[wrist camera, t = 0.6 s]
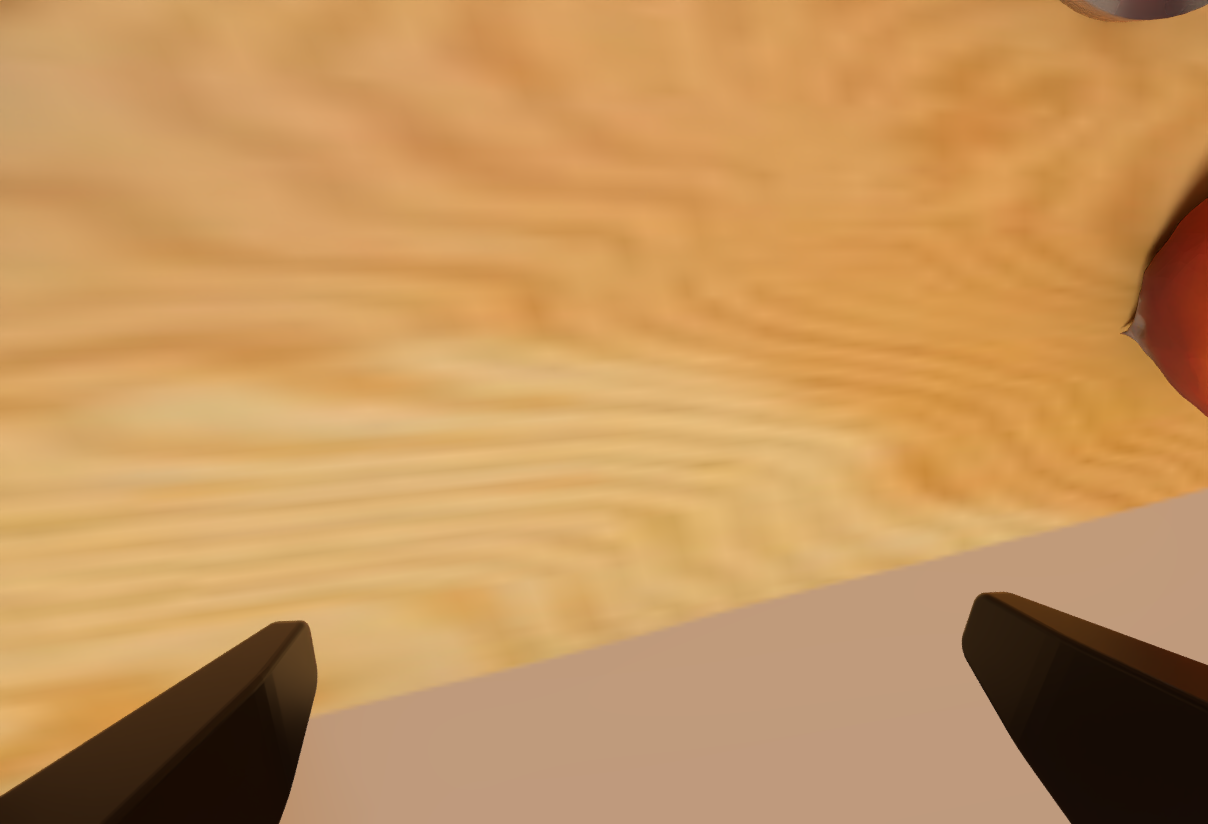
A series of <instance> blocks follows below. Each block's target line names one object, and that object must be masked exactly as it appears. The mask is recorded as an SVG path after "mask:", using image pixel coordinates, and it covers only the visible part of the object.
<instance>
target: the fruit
mask: <svg viewBox="0 0 1208 824" xmlns="http://www.w3.org/2000/svg"><path fill="white" fill-rule="evenodd" d="M1120 334H1125V335H1127V336H1129V337H1131V338H1132V339H1134V340H1135V341H1136V342H1137V343H1138V344H1139V345H1140V346H1141V348H1142V349H1143V351H1144V352H1145V353H1146V354H1147V355H1148V356H1149V357H1150V358H1151V359H1152V360H1153V361H1154V362H1155V364H1156V365H1157V366H1158V368H1159V369H1160V370H1161V372H1162V373H1163V374H1164V376H1165V377H1166V379H1167V380H1168V381H1169V383H1170V384H1171V385H1172V386H1173V387H1174V388H1175V389H1176V390H1177V391H1178V393H1179V394H1181V395H1182V396H1183V397H1184V398H1185V399H1187V400H1188V401H1189V402H1191V403H1192V404H1193V405H1194V406H1195V407H1197V408H1198V409H1199V410H1200V411H1201V412H1202V413H1203V414H1204V415H1205V416H1207V417H1208V198H1207V199H1205V200H1204V201H1203V202H1202V203H1200V204H1199V205H1198V206H1197V207H1195V208H1194V209H1193V210H1192V211H1191V212H1190V213H1189V214H1188V215H1187V216H1186V217H1185V218H1184V219H1183V220H1182V221H1181V222H1180V223H1179V225H1178V226H1177V228H1176V229H1175V231H1174V232H1173V234H1172V235H1171V237H1170V238H1169V240H1168V241H1167V242H1166V243H1165V244H1164V246H1163V247H1162V248H1161V249H1160V251H1159V252H1158V253H1157V254H1156V255H1155V257H1154V258H1153V260H1152V262H1151V263H1150V265H1149V266H1148V268H1147V269H1146V271H1145V273H1144V277H1143V283H1142V289H1141V291H1140V294H1139V302H1138V307H1137V311H1136V315H1135V318H1134V321H1133V323H1132V325H1131V326H1130V327H1129V329H1128V331H1125V332H1122V333H1120Z"/></svg>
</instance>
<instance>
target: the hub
mask: <svg viewBox="0 0 1208 824" xmlns="http://www.w3.org/2000/svg"><path fill="white" fill-rule="evenodd" d="M1060 1H1061V2H1062V3H1064V4H1065V5H1067V6H1068V7H1070V8H1071V9H1073V10H1074V11H1076V12H1078V13H1080V14H1083V15H1085V16H1087V17H1089V18H1093V19H1098V20H1102V21H1110V22H1128V21H1141V20H1152V19H1163V18H1169V17H1173V16H1177V15H1182V14H1185V13H1188V12H1190V11H1193V10H1196V9H1198V8H1201V7H1203V6H1205V5H1207V4H1208V0H1060Z"/></svg>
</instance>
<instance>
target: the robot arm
mask: <svg viewBox="0 0 1208 824" xmlns="http://www.w3.org/2000/svg"><path fill="white" fill-rule="evenodd" d="M962 649H963V653H964V656H965V658H966V660H967V662H968V663H969V666H970V667H971V669H972V671H973V672H974V674H975V676H976V678H977V679H978V681H979V683H980V684H981V686H982V688H983V690H984V692H985V693H986V695H987V697H988V698H989V700H990V702H991V704H992V705H993V707H994V709H995V711H996V712H997V714H998V716H999V717H1000V719H1001V721H1002V723H1003V724H1004V726H1005V728H1006V730H1007V731H1008V733H1009V735H1010V736H1011V738H1012V740H1013V741H1014V743H1015V744H1016V746H1017V748H1018V749H1019V751H1020V752H1021V753H1022V755H1023V757H1024V758H1025V759H1026V761H1027V762H1028V764H1029V765H1030V767H1031V768H1032V769H1033V771H1034V772H1035V773H1036V775H1037V776H1038V778H1039V779H1040V781H1041V782H1042V783H1043V785H1044V786H1045V788H1046V789H1047V791H1048V792H1049V793H1050V795H1051V796H1052V797H1053V799H1054V800H1055V802H1056V803H1057V805H1058V806H1059V807H1060V809H1061V810H1062V812H1063V813H1064V814H1065V816H1066V817H1067V818H1068V820H1069V821H1070V823H1071V824H1208V665H1206V664H1203V663H1200V662H1197V661H1195V660H1192V659H1189V658H1187V657H1184V656H1181V655H1179V654H1176V653H1173V652H1170V651H1167V650H1165V649H1162V648H1159V647H1156V646H1154V645H1151V644H1148V643H1146V642H1143V641H1140V640H1137V639H1135V638H1132V637H1129V636H1127V635H1124V634H1121V633H1118V632H1116V631H1113V630H1110V629H1108V628H1105V627H1102V626H1099V625H1097V624H1094V623H1091V622H1089V621H1086V620H1083V619H1080V618H1078V617H1075V616H1072V615H1069V614H1067V613H1064V612H1061V611H1059V610H1056V609H1053V608H1050V607H1047V606H1045V605H1042V604H1039V603H1037V602H1034V601H1031V600H1029V599H1026V598H1023V597H1020V596H1018V595H1015V594H1012V593H1008V592H990V593H982V594H980V595H978V596H977V597H976V599H975V600H974V603H973V606H972V609H971V612H970V615H969V618H968V621H967V624H966V627H965V630H964V632H963V636H962ZM316 687H317V665H316V659H315V654H314V648H313V643H312V637H311V632H310V628H309V626H308V624H307V623H306V622H305V621H278V622H274V623H272V624H270V625H268V626H267V627H265V628H263V629H262V630H260V631H259V632H257V633H256V634H254V635H252V636H251V637H249V638H248V639H246V640H245V641H243V642H241V643H240V644H238V645H237V646H235V647H234V648H232V649H230V650H229V651H227V652H226V653H224V654H223V655H221V656H220V657H218V658H216V659H215V660H213V661H212V662H210V663H209V664H207V665H205V666H204V667H202V668H201V669H199V670H198V671H196V672H194V673H193V674H191V675H190V676H188V677H187V678H185V679H183V680H182V681H180V682H179V683H177V684H176V685H174V686H172V687H171V688H169V689H168V690H166V691H165V692H163V693H162V694H160V695H158V696H157V697H155V698H154V699H152V700H151V701H149V702H147V703H146V704H144V705H143V706H141V707H140V708H138V709H136V710H135V711H133V712H132V713H130V714H129V715H127V716H125V717H124V718H122V719H121V720H119V721H118V722H116V723H114V724H113V725H111V726H110V727H108V728H107V729H105V730H103V731H102V732H100V733H99V734H97V735H96V736H94V737H93V738H91V739H89V740H88V741H86V742H85V743H83V744H82V745H80V746H78V747H77V748H75V749H74V750H72V751H71V752H69V753H67V754H66V755H64V756H63V757H61V758H60V759H58V760H56V761H55V762H53V763H52V764H50V765H49V766H47V767H45V768H44V769H42V770H41V771H39V772H38V773H36V774H34V775H33V776H31V777H30V778H28V779H27V780H25V781H23V782H22V783H20V784H19V785H17V786H16V787H14V788H12V789H11V790H9V791H8V792H6V793H5V794H3V795H1V796H0V824H279V822H280V820H281V817H282V814H283V811H284V809H285V806H286V803H287V800H288V797H289V794H290V791H291V787H292V783H293V780H294V776H295V772H296V768H297V764H298V760H299V756H300V752H301V748H302V744H303V740H304V736H305V732H306V728H307V725H308V721H309V717H310V713H311V709H312V705H313V701H314V697H315V693H316Z"/></svg>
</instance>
